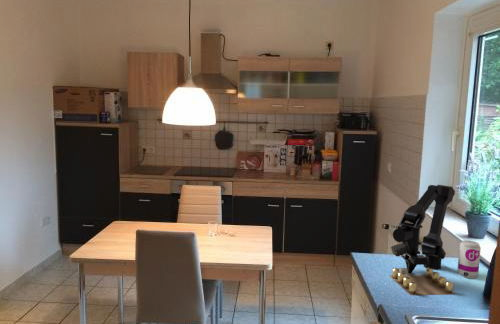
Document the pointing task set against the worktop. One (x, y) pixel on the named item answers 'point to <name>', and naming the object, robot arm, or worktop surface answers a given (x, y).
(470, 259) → the supplement can
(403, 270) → the steel nut
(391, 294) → the worktop surface
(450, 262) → the worktop surface
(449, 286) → the brass spacers
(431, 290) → the board
